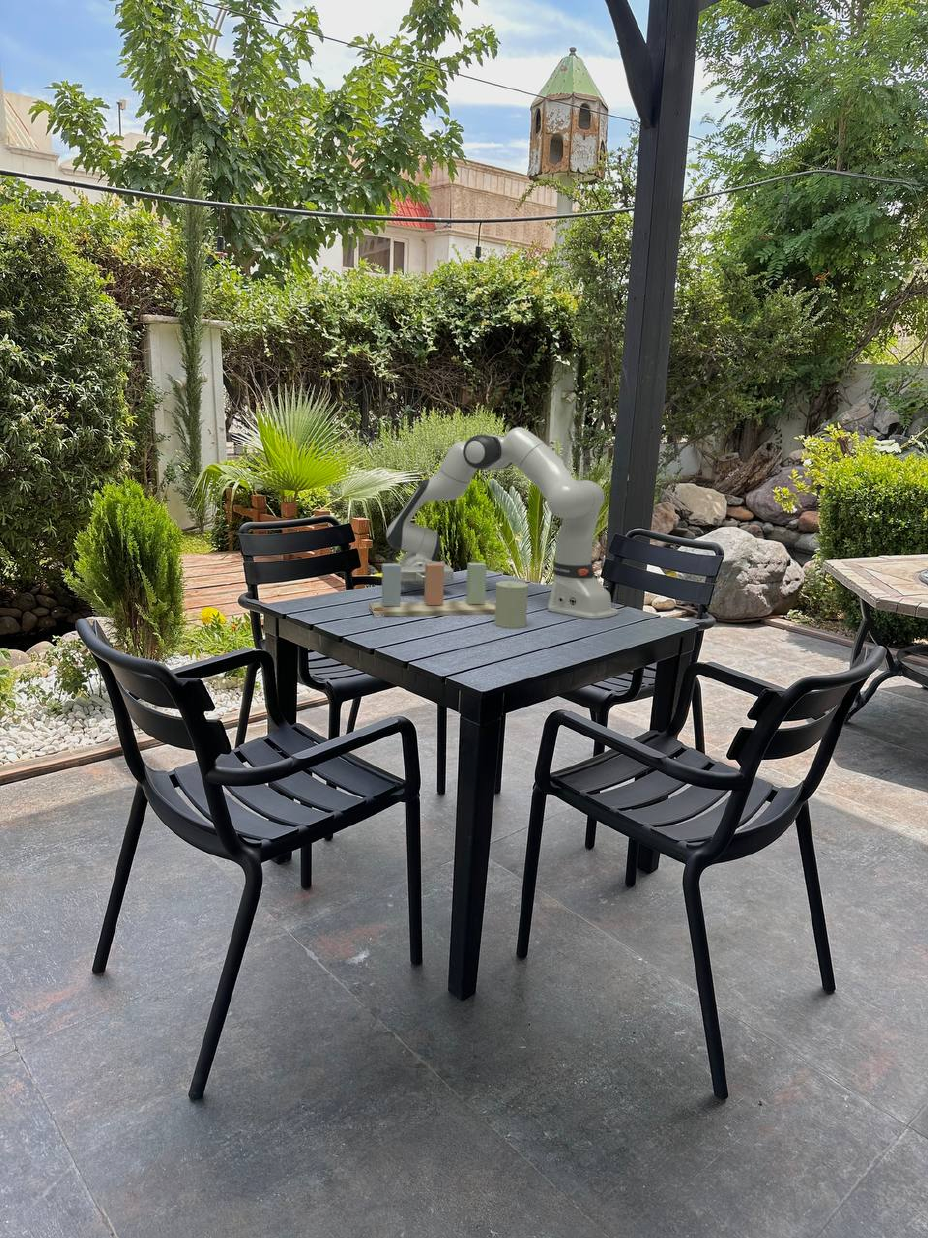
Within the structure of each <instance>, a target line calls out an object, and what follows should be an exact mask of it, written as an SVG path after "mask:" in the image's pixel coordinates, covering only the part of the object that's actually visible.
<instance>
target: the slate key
mask: <svg viewBox="0 0 928 1238" xmlns="http://www.w3.org/2000/svg"><path fill="white" fill-rule="evenodd" d="M401 593H402V592H401V563H397V562H396V563H394V562H391V563H381V603H382V604H383V606H400V602H402V601H401Z"/></svg>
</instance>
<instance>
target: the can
mask: <svg viewBox="0 0 928 1238" xmlns="http://www.w3.org/2000/svg"><path fill="white" fill-rule="evenodd" d="M528 591H529V584H528V583H526V582H522V581H515V580H514V581H513V580H501V581H498V582H496V583H495V602H494V603H495V614H494V622H493V624H494V625H495V626H497V627H502V628H508V629H518V628H519V629H520V628H524V627H525V626H527V612H528V611H527V610H528V607H527V606H528Z"/></svg>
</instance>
